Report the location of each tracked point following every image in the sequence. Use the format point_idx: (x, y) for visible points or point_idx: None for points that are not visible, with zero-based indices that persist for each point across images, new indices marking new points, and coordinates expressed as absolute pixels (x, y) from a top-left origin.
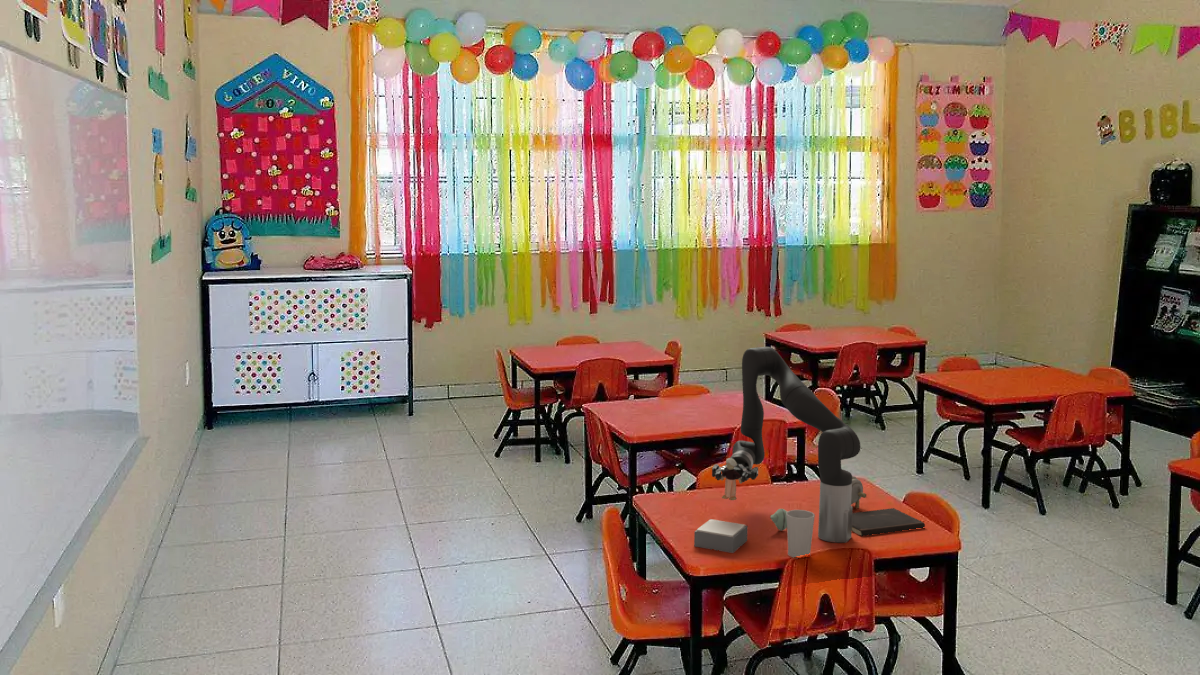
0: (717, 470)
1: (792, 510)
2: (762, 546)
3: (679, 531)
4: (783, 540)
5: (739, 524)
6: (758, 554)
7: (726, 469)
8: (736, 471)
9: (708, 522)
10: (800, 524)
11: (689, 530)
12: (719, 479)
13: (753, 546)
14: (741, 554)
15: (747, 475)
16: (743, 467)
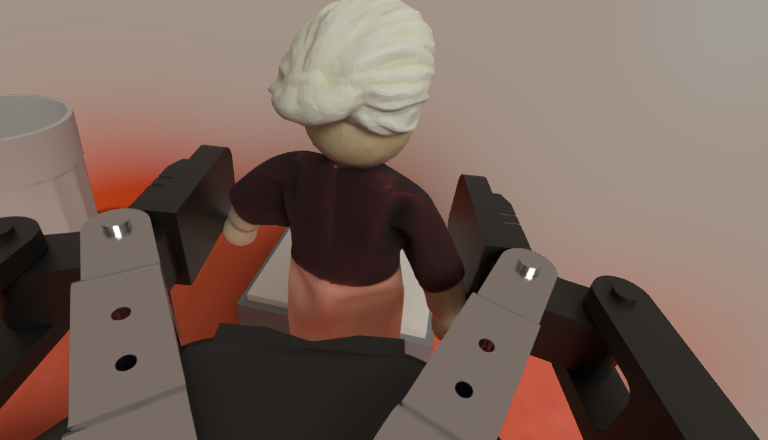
0: (542, 266)
1: (3, 138)
2: (186, 306)
3: (558, 399)
4: (44, 393)
5: (276, 291)
6: (220, 246)
7: (412, 186)
8: (282, 156)
9: (421, 290)
10: (40, 119)
11: (526, 425)
12: (450, 234)
13: (225, 300)
14: (278, 239)
15: (149, 189)
16: (113, 319)
